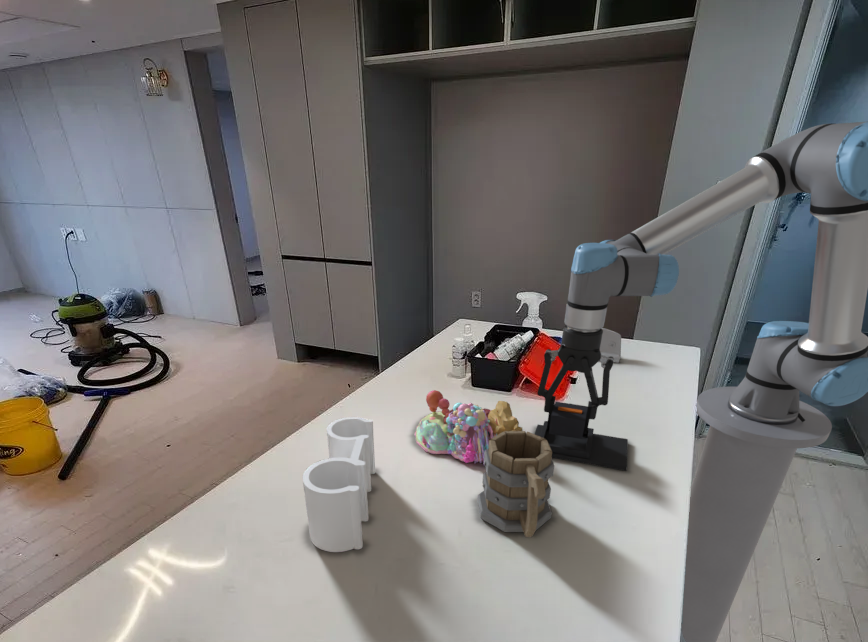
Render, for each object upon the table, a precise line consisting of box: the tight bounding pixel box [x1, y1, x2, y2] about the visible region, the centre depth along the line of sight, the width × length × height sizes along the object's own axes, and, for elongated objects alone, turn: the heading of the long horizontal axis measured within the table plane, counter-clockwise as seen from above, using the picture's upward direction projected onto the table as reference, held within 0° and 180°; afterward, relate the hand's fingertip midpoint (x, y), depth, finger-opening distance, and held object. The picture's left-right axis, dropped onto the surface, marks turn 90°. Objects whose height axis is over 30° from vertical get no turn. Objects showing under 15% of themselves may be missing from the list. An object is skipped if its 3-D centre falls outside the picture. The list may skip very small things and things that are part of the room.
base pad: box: [534, 420, 629, 472], centre depth 112 cm, size 20×12×2 cm, turn 69°
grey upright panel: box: [600, 327, 622, 364], centre depth 159 cm, size 17×5×10 cm, turn 70°
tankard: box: [477, 430, 555, 538], centre depth 87 cm, size 20×13×15 cm, turn 1°
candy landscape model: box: [414, 389, 523, 466], centre depth 114 cm, size 25×24×9 cm
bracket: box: [302, 416, 376, 553], centre depth 92 cm, size 25×10×12 cm, turn 177°
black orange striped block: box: [549, 401, 588, 439], centre depth 110 cm, size 7×7×5 cm
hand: (567, 427), depth 111 cm, fingers closed on black orange striped block, 7 cm apart
